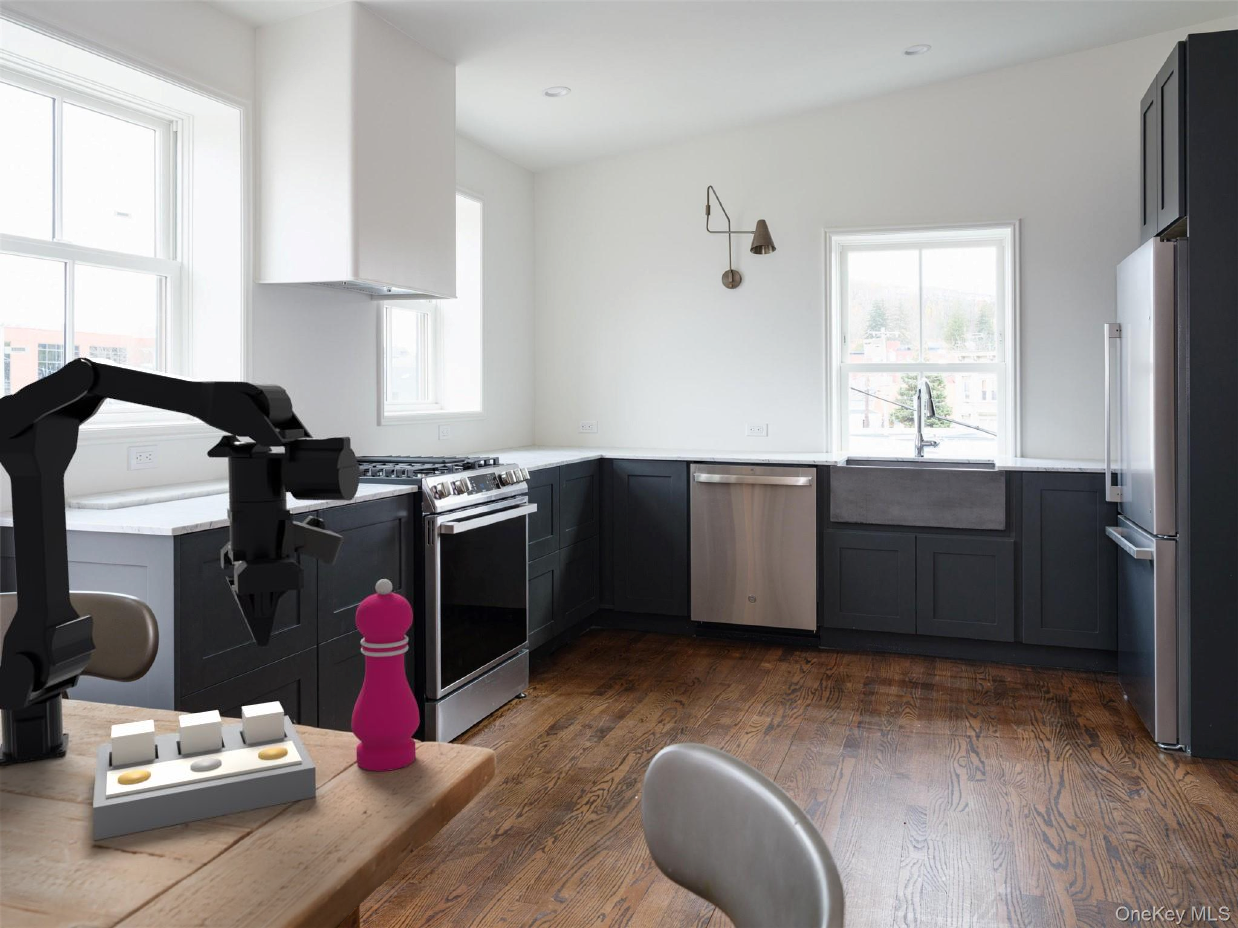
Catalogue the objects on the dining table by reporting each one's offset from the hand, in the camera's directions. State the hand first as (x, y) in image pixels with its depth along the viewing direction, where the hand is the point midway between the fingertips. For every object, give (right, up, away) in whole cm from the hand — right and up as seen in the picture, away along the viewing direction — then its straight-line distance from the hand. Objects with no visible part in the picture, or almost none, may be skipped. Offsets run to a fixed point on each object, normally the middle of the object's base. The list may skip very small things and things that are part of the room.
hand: (261, 643), depth 97 cm
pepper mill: (+13, -13, +1) cm, 19 cm away
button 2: (0, -10, +1) cm, 10 cm away
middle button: (-5, -11, -2) cm, 12 cm away
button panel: (-4, -13, -5) cm, 15 cm away
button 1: (-11, -11, -5) cm, 16 cm away
